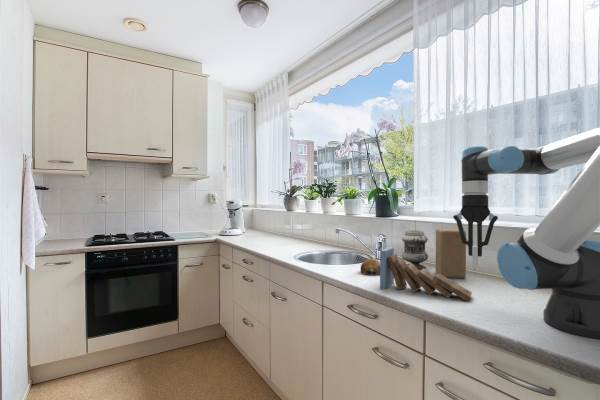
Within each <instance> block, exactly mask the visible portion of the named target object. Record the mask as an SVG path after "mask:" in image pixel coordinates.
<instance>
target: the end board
mask: <svg viewBox="0 0 600 400" xmlns="http://www.w3.org/2000/svg"><path fill="white" fill-rule="evenodd" d="M392 255H395V248H394V247H391V246H389V247H386V248H382V249H381V250H379V262H380V275H379V288H380V289H382V290H384V289H385V290H386V289H387V288H390V286H391V285H393V284H394V283H395V280H394V277H393V274H392V271H391V268H390V265H389V262H388V259H387V258H388V257H390V256H392Z"/></svg>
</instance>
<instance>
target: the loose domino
mask: <svg viewBox="0 0 600 400" xmlns="http://www.w3.org/2000/svg"><path fill="white" fill-rule="evenodd" d="M434 276H435V277H434V278H433V280H432V281H434V282H436V283H437V284H439V285H441V286H442V287H444V288H446V289H447V290H449V291H451V292H452V294H454V295H456V297H457V296H458V297H459V298H461V299H462V300H464V301H466V302H469V301H470V300H471V297H472V294H473V292H472V291H470V290H469V289H467V288H465V287H463V286H462V285H461V284H458V283H457V282H455V281H453V280H451V278H447V277H445V276H443V275H441V274H440V273H437V272H436V274H435V275H434Z"/></svg>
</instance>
